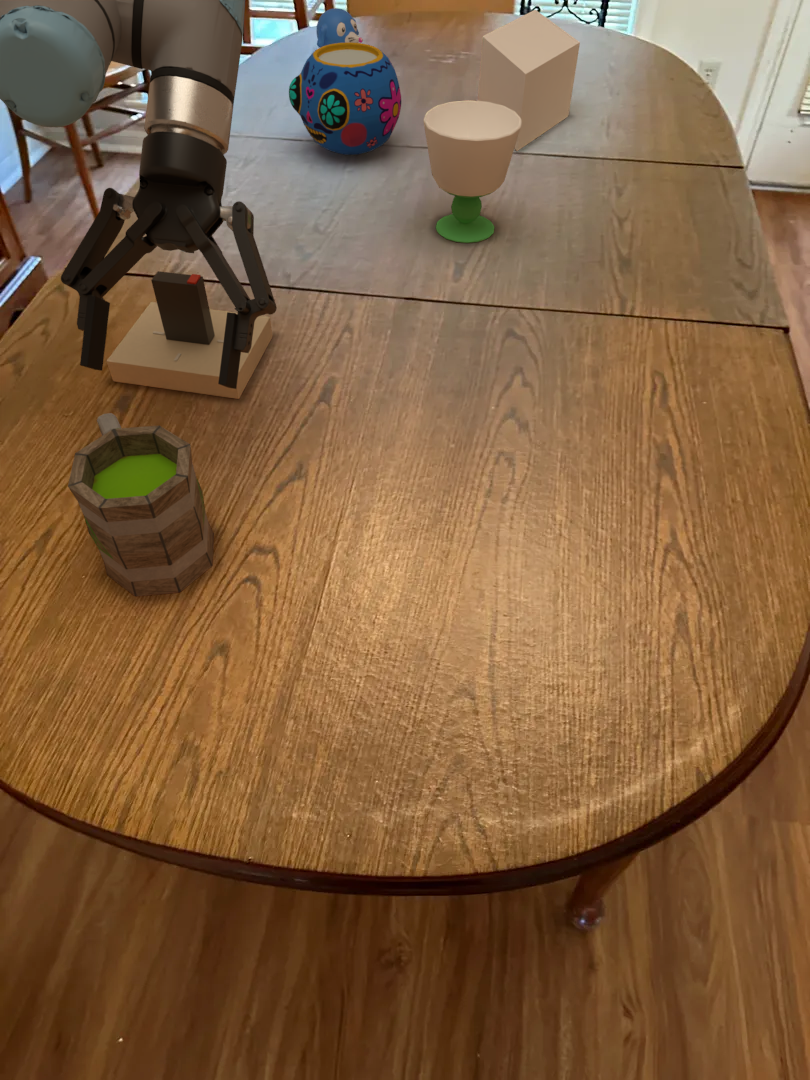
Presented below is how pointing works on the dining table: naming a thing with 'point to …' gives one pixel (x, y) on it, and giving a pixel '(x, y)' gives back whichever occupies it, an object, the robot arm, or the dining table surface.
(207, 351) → the tan rectangular slab
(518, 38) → the block
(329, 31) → the blue mole toy
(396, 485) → the dining table surface
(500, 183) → the cup
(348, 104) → the ceramic pot
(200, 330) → the dark brown upright block
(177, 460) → the mug
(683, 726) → the dining table surface
